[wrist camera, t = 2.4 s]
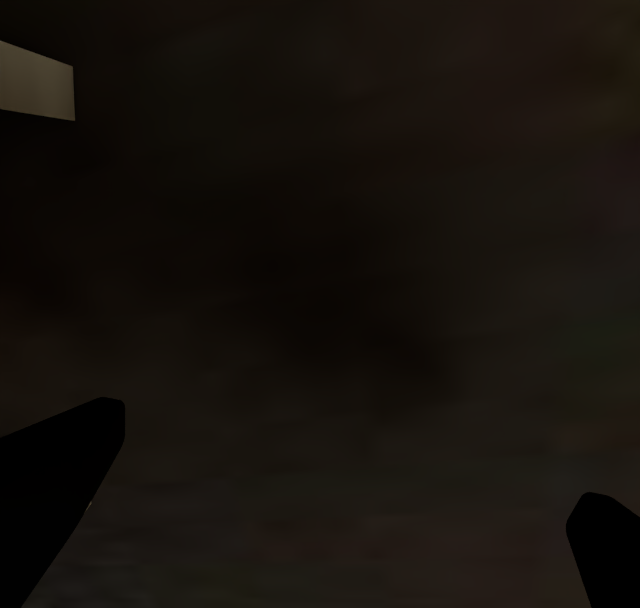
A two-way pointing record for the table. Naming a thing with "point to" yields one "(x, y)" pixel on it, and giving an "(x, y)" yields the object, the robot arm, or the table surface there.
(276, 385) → the table surface
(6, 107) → the box
